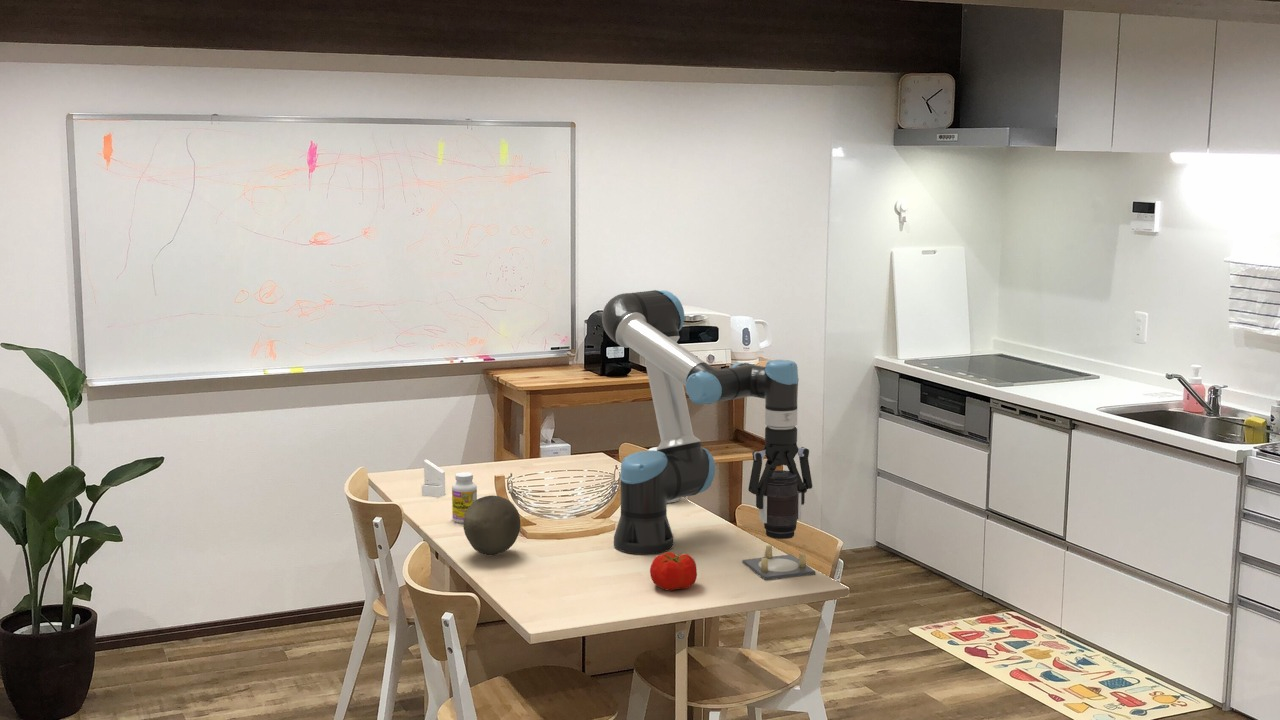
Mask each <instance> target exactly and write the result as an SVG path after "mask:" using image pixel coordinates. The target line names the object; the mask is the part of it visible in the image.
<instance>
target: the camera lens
mask: <svg viewBox="0 0 1280 720" xmlns="http://www.w3.org/2000/svg"><path fill="white" fill-rule="evenodd" d="M797 481H798V480H797V476H796V474H792V473H791V472H790V471H789V470H781V469H780V470H779V469H778V470H774V472H773V474H772V476H771V477H768V483H767V484H768V485H767V488H766V491H765V493H764V495H766V496H767V523H763V529H764V530H765V535H766V536H767V537H768V538H772V539H775V540H776V539H777V540H788V539H791V538H794V537H795V531H796V530H797V523H798V519H797V492H798V488H797V485H798V483H797Z"/></svg>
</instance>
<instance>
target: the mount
mask: <svg viewBox="0 0 1280 720" xmlns="http://www.w3.org/2000/svg"><path fill="white" fill-rule="evenodd" d="M742 564H744V566H746V567H747V568H749V569H750V571H752V572H753V573H755V574H756V575H758V576H759V577H760V578H761V579H762V580H764V581H771V580H778V579H787V578H795V577H804V576H812V575H816V571H815V569H814V568H812V567H810V566H809V565H807V554H806V553H799V557H796V556H795V555H794V554H792V553H790V554H782V555H773V545H771V544H767V545H765V556H764V557H756V558H748V559H747V558H746V559H745V558H744V559H742Z"/></svg>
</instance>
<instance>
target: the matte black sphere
mask: <svg viewBox="0 0 1280 720" xmlns="http://www.w3.org/2000/svg"><path fill="white" fill-rule="evenodd" d="M462 524H463V526H462V527H463V531H464V535H465V537H466V540H468V542H469V544H470V546H471V547H472V549H474V550H475V551H476V552H477V553H480V554H481V555H484V556H489V557H490V556H491V557H492V556H498V555H500V554H503V553H505V552H506V551H508V550H509V549H510V548H512V547H513V545H514V544H515V543H516V541H517V539H518V536H519V534H520V530H521V516H520V512H519V510H518V509H517V507H516V506H515V505H514V504H513V502H511V501H510V500H509V499H507V498H505V497H502V496H499V495H486V496H481V497H479V498H477V500H476V501H474V502H473V503H472V504H471V505H470V507H469V508H468V510H467V512H466V514H465V517H464V522H463V523H462Z"/></svg>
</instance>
